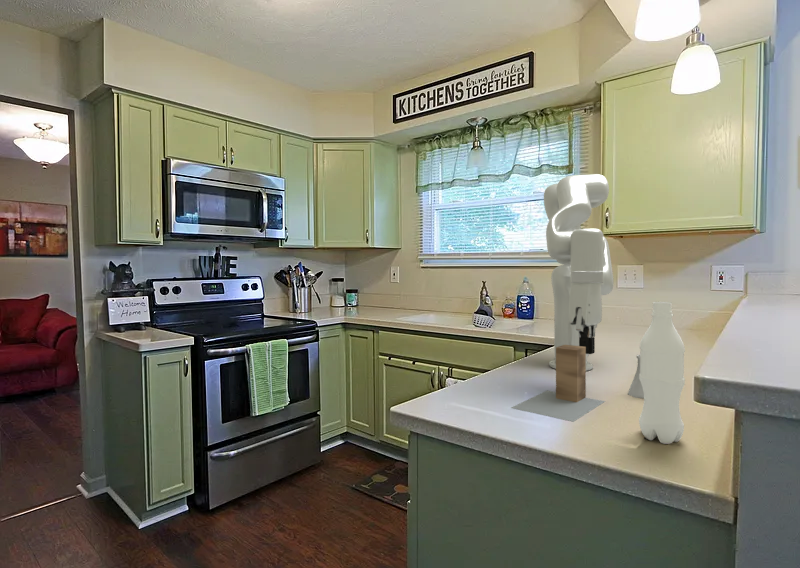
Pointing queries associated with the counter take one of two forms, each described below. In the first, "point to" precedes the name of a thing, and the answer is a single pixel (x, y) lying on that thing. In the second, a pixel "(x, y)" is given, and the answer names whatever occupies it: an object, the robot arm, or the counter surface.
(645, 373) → the water bottle
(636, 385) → the flask
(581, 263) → the robot arm
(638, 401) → the counter surface
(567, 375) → the cardboard box
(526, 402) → the mat
